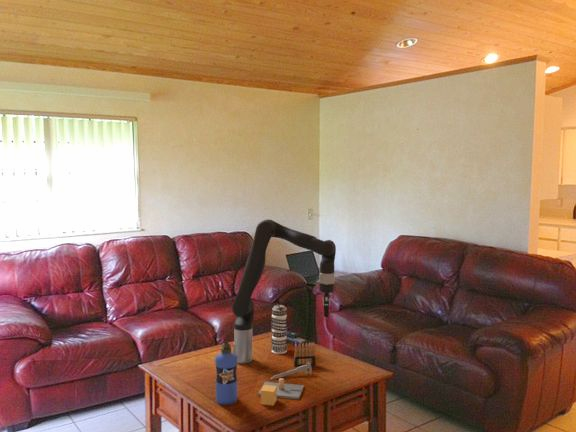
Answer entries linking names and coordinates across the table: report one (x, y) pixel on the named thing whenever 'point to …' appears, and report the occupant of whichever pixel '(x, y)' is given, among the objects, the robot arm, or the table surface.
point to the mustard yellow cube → (268, 395)
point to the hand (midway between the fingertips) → (326, 314)
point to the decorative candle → (279, 329)
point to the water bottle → (226, 376)
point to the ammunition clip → (304, 355)
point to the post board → (286, 389)
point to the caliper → (298, 369)
